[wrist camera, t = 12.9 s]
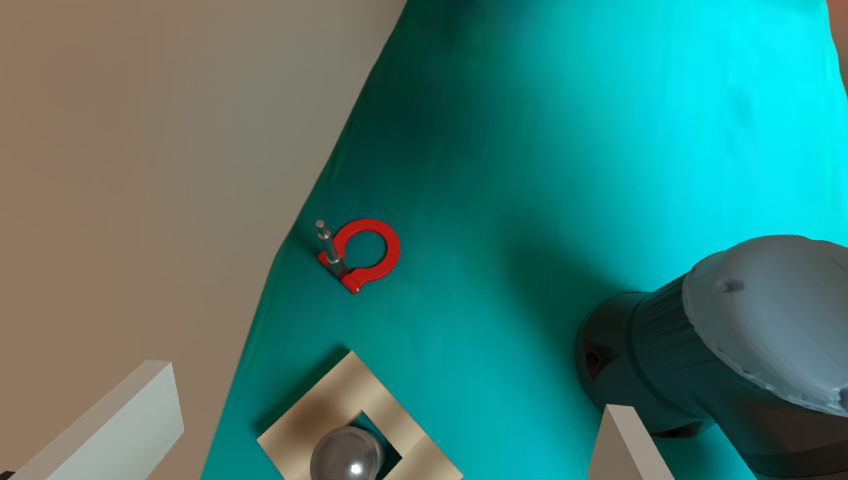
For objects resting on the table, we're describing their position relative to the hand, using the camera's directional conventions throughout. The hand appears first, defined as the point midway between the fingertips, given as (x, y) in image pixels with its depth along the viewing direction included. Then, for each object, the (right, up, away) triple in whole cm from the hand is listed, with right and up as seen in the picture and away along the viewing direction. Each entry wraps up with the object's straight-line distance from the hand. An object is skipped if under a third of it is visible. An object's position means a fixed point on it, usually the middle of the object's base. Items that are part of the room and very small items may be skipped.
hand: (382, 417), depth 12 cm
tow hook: (-6, +4, +38) cm, 39 cm away
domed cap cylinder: (-5, -16, +28) cm, 33 cm away
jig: (-5, -16, +28) cm, 33 cm away
